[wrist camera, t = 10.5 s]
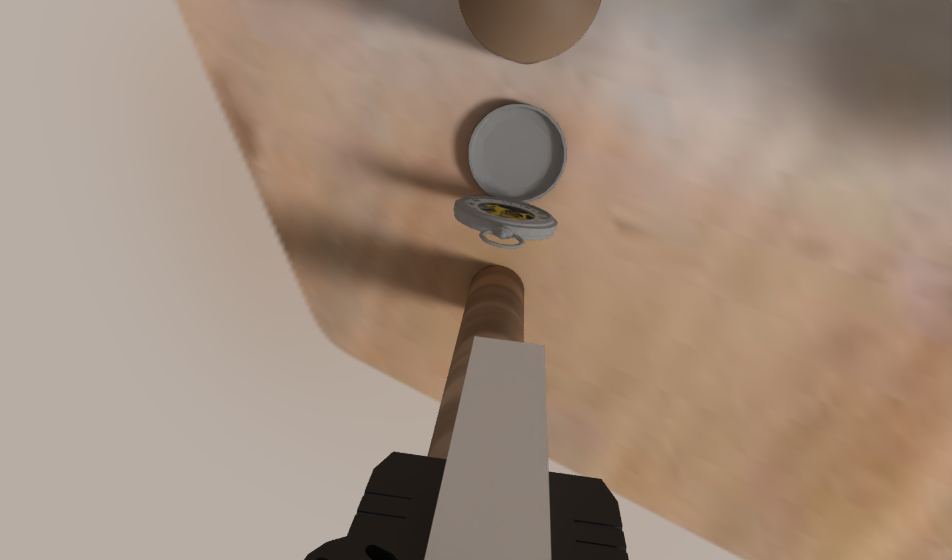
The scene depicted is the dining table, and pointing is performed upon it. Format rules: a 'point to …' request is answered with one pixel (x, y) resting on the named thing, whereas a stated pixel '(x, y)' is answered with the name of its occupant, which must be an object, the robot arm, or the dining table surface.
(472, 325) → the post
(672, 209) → the dining table surface
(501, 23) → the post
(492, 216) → the pocket watch
